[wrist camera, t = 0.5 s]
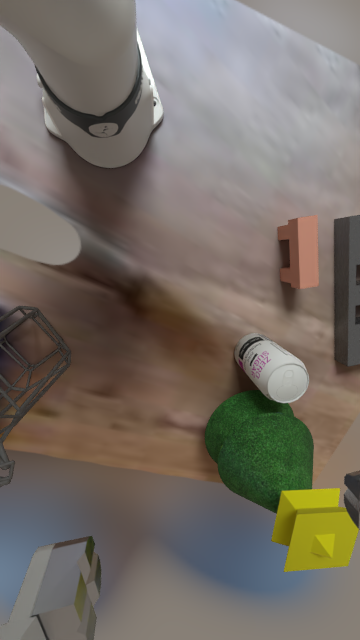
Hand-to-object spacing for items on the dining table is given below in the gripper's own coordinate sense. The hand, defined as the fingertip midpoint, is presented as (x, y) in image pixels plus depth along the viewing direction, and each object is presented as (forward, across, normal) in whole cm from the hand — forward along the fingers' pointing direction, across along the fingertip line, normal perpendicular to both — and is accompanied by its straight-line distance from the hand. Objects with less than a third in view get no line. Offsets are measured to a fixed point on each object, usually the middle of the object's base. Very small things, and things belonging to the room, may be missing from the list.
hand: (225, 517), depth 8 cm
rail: (+44, -41, +6) cm, 61 cm away
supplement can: (+45, -18, +15) cm, 50 cm away
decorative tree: (+44, -14, +30) cm, 55 cm away
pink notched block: (+44, -27, -4) cm, 52 cm away
